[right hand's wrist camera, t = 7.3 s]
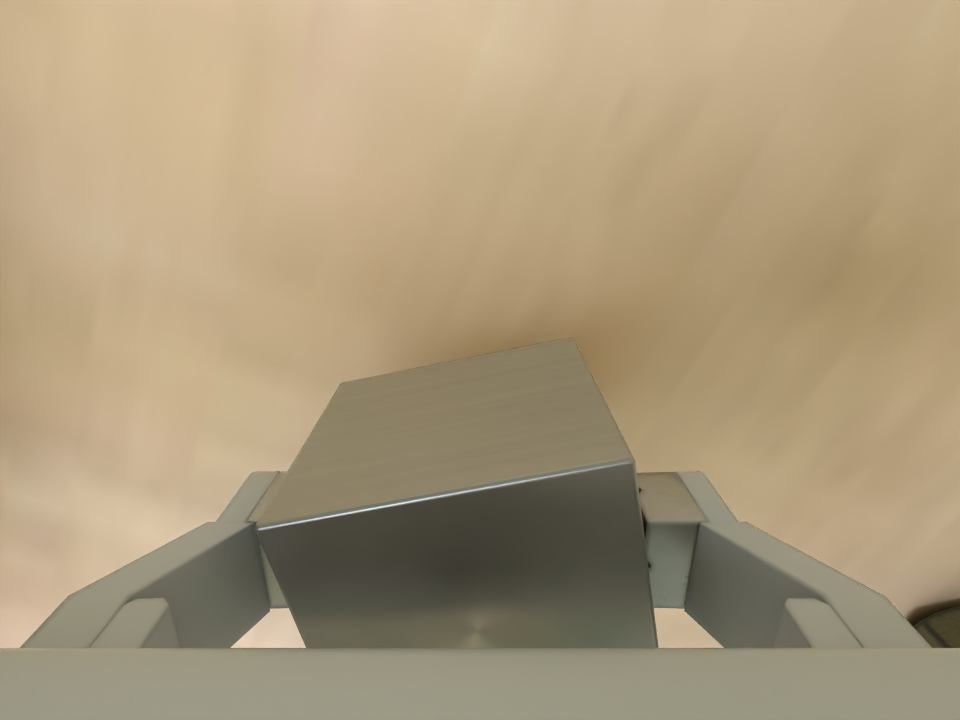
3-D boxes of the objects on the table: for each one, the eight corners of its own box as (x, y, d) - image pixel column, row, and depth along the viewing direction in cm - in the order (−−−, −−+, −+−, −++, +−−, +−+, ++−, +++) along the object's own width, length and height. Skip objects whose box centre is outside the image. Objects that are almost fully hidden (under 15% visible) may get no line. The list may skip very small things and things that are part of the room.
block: (339, 381, 12) (250, 528, 7) (573, 335, 11) (635, 458, 7) (397, 555, 13) (354, 763, 9) (601, 519, 13) (668, 718, 8)
